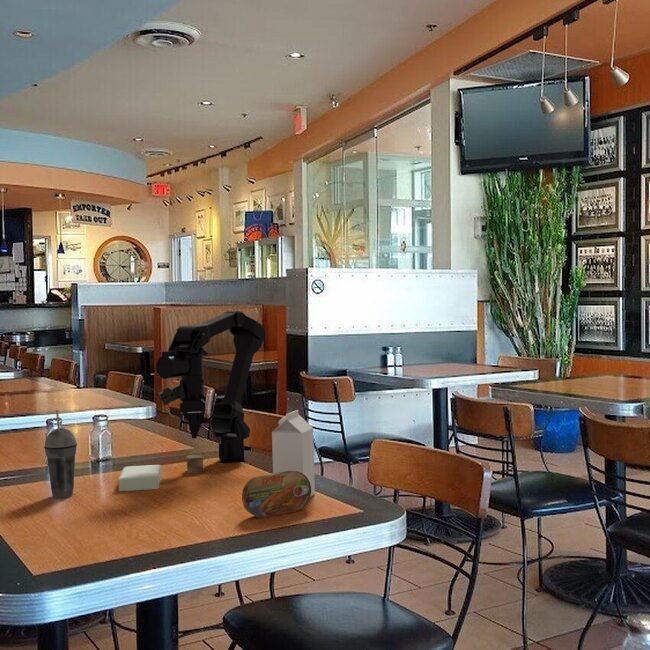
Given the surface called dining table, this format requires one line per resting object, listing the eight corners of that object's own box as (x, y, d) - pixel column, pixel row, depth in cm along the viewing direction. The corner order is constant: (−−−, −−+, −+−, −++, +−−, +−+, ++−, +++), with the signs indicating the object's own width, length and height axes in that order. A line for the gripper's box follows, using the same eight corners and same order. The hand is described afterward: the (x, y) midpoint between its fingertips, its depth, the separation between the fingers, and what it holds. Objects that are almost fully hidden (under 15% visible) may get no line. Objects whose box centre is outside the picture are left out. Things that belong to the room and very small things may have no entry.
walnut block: (203, 469, 210) (202, 454, 210) (203, 473, 206) (202, 457, 206) (187, 470, 210) (187, 455, 210) (187, 474, 206) (186, 458, 206)
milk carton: (315, 494, 181) (312, 409, 180) (304, 502, 174) (301, 414, 173) (285, 492, 183) (283, 409, 182) (273, 500, 176) (271, 413, 176)
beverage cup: (84, 491, 189) (80, 406, 188) (71, 499, 182) (67, 411, 181) (54, 492, 190) (50, 407, 189) (40, 499, 182) (36, 411, 182)
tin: (247, 521, 161) (245, 479, 161) (240, 517, 164) (239, 476, 163) (312, 509, 168) (311, 469, 168) (305, 506, 171) (304, 466, 171)
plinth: (161, 475, 204) (160, 464, 204) (158, 488, 190) (157, 476, 190) (124, 478, 202) (124, 466, 202) (118, 491, 189) (118, 478, 188)
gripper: (162, 372, 215) (164, 430, 216) (158, 379, 197) (160, 443, 197) (204, 370, 217) (206, 428, 217) (204, 377, 198) (206, 441, 199)
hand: (194, 435), depth 208 cm, fingers open, 9 cm apart
